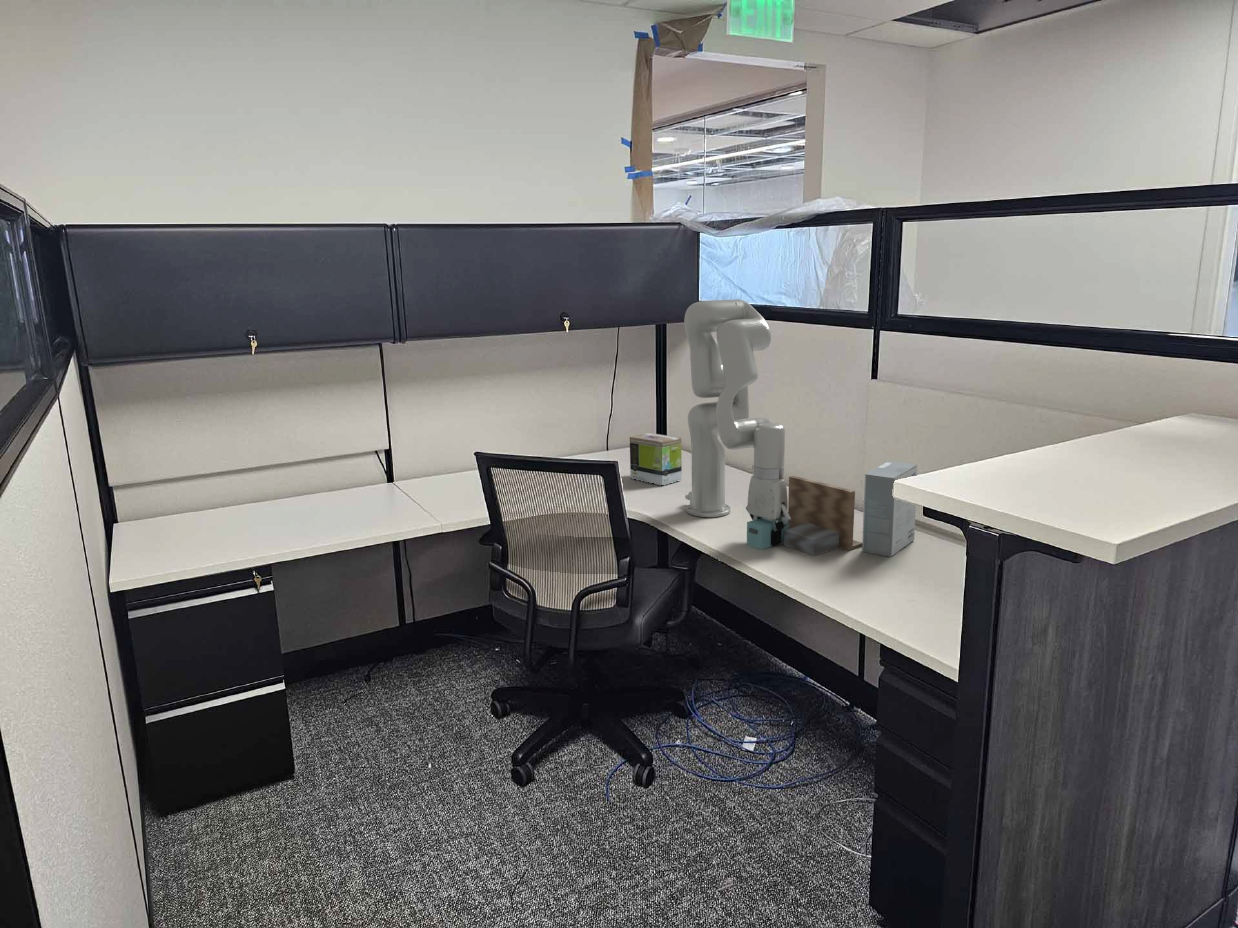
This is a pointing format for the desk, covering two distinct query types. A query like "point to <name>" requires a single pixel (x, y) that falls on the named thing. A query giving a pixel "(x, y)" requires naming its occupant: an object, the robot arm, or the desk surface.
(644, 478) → the tea box
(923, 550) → the desk surface
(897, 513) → the hard drive box
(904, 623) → the desk surface
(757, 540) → the cabinet block
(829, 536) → the wall board
